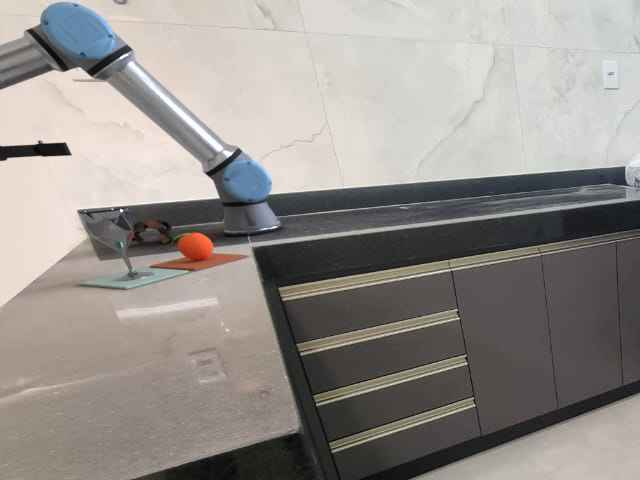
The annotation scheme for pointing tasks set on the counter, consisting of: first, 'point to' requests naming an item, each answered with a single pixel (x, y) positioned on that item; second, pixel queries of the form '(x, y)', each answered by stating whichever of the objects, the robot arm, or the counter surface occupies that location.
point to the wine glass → (113, 234)
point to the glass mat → (158, 275)
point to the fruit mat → (197, 262)
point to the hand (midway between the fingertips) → (33, 151)
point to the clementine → (195, 246)
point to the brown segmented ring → (157, 225)
